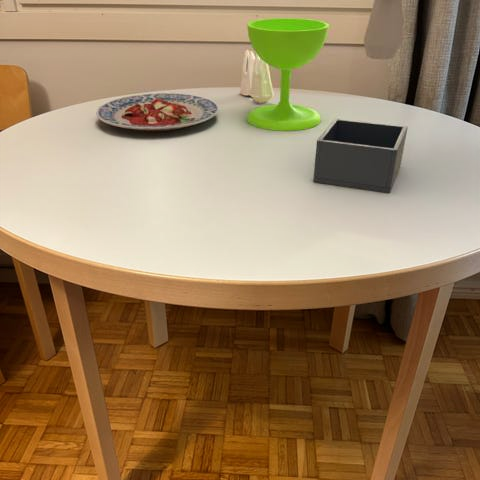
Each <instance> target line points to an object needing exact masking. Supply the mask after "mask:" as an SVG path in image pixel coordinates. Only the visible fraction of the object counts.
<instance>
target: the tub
mask: <svg viewBox="0 0 480 480" xmlns="http://www.w3.org/2000/svg"><path fill="white" fill-rule="evenodd" d="M408 128H409V127H408V126H407V125H398V124H389V123H380V122H371V121H361V120H352V119H343V118H334V119H333V120H332V121H331V123H330V124H329V125H328V126H327V127H326V129H325V130H324V131H323V132H322V134H321V135H320V136H319V137H318V139H317V140H316V147H315V157H314V169H313V181H312V182H313V183H318V184H325V185H332V186H339V187H344V188H345V187H346V188H352V189H359V190H365V191H373V192H380V193H385V194H386V193H387V194H391V191H392V189H393V186H394V183H395V181H396V179H397V176H398V173H399V171H398V170H400V168H401V166H400V165H402V160H403V155H404V148H405V144H406V138H407V133H408Z"/></svg>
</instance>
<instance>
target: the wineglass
mask: <svg viewBox="0 0 480 480" xmlns="http://www.w3.org/2000/svg"><path fill="white" fill-rule="evenodd" d="M246 25H247V35H248V39H249V41H250V44H251V47H252V49H253V50H254V52H255V54H256V53H257V55H258V56H259V57H260V58H261V59H262V60H263V61H264V62H265V63H267V64H268V66H269V67H273V68H275V69H278V70H280V94H279V95H280V96H279V102H278V103H277V104H268V105H263V106H259V107H256V108H254V109H252V110H251V111H250V112H249V113H248V115H247V117H246V121H247V123H249V124H250V125H251V126H253V127H256V128H259V129H263V130H268V131H269V130H270V131H283V132H291V131H293V132H294V131H302V130H303V131H304V130H308V129H311V128H314V127H316V126H318V125H320V123H321V121H322V120H321V119H322V118H321V116H320V114H319V113H318V112H317V111H315V110H314V109H312V108H309V107H307V106H304V105H303V106H302V105H297V104H291V102H290V90H291V74H292V73H291V72H292V70H295V69H298V68H301V67H303V66H306V65H308V63H310V62H312V60H314V59H315V58H316V57H317V55H318V54H319V53H320V52H321V50H322V49H323V47H324V45H325V42H326V41H327V38H328V33H329V27H330V24H329V23H328V22H325V21H323V20H316V19H307V18H295V17H293V18H292V17H291V18H290V17H288V18H287V17H285V18H280V17H279V18H263V19H257V20H252V21H250V22H248V23H247V24H246Z"/></svg>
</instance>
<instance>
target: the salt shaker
mask: <svg viewBox="0 0 480 480" xmlns="http://www.w3.org/2000/svg"><path fill="white" fill-rule="evenodd" d="M403 21H404V20H403V0H374V1H373V4H372V8H371V12H370V14H369V18H368V23H367V26H366V29H365V33H364V37H363V45H364V50H365V53H366V57H368V58H370V59H374V60H384V61H385V60H391V59H394V58H395V56H396V54H397V52H398V50H399V49H400V47H401V45H402V43H403V40H404V31H403V30H404V29H403V28H404V27H403V25H404V24H403V23H404V22H403Z"/></svg>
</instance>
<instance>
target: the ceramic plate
mask: <svg viewBox="0 0 480 480" xmlns="http://www.w3.org/2000/svg"><path fill="white" fill-rule="evenodd" d="M218 113H219V106H218V104H217V103H216V102H214V101H212V100H210V99H209V98H205V97H202V96H197V95H192V94H183V93H170V92H169V93H166V92H165V93H161V92H159V93H145V94H137V95H130V96H125V97H120V98H117V99H112V100H111V101H108V102H106V103H104V104H102V105H100V106H99V107H98V108H97V110H96V112H95V115H96V117H97V119H98V120H100V121H101V122H103V123H105V124H107V125H110V126H113V127H116V128H117V127H118V128H123V129H130V130H135V131H142V132H143V131H144V132H167V131H168V132H169V131H174V130H180V129H183V128H186V127H190V126H194V125H198V124H201V123H204V122H207V121H208V120H211V119H212V118H214V117H215V116H217V114H218Z"/></svg>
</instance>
